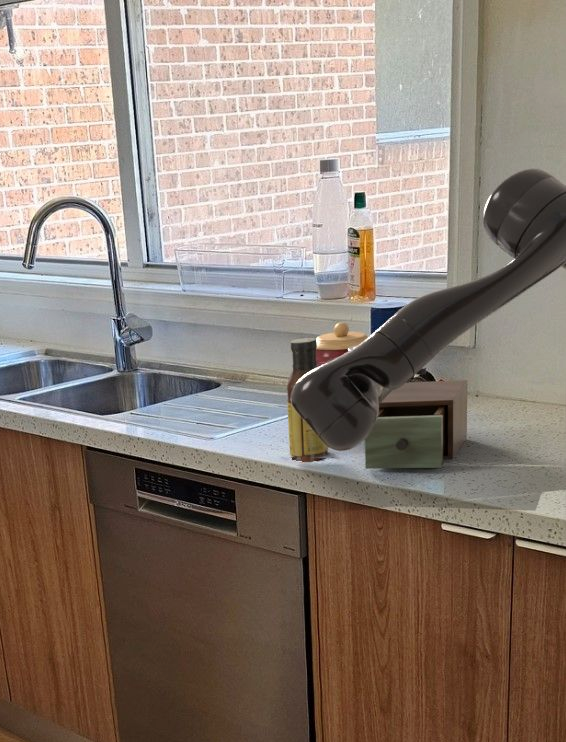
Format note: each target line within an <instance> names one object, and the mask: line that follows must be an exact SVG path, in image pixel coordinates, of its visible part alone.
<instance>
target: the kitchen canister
mask: <svg viewBox="0 0 566 742" xmlns="http://www.w3.org/2000/svg"><path fill="white" fill-rule="evenodd" d="M368 337H369V336H368V335H367V334H366V333H364V332H361V331H350V327H349V325H348V324H347V323H346V322H342V321H341V322H338V323H337V324H335V325H334V328H333V332H330V333H329V332H328V333H324V334H320V335H318V336H317V337H316V338H315V339H316V343H317V347H316V363H317V367H319V366H321V365H323V364H325V363H327V362H328V360H330V359H334V358H337V357H340V356H342V355H344V354H345V353H347V352H348V348H349V347H351V346H355V345H359V344H361V343H362V342H363V341H365V340H366V339H367V338H368Z"/></svg>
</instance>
